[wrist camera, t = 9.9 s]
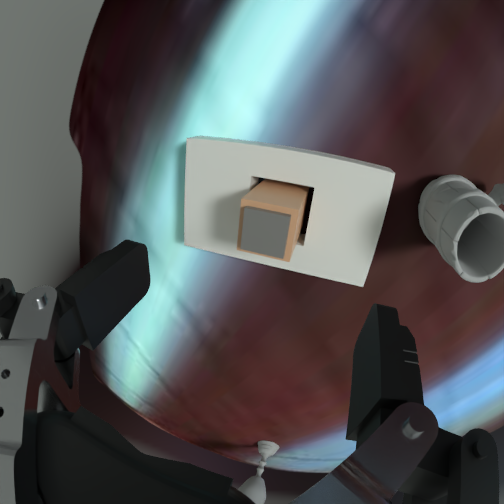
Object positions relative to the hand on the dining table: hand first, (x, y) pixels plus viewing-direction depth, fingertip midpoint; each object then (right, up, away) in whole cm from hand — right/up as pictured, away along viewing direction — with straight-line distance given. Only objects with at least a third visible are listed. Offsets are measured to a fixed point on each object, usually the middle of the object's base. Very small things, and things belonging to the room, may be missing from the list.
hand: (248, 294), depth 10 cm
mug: (+22, +7, +14) cm, 27 cm away
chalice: (+4, -42, +45) cm, 62 cm away
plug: (+4, +6, +21) cm, 22 cm away
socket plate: (+3, +7, +21) cm, 22 cm away
